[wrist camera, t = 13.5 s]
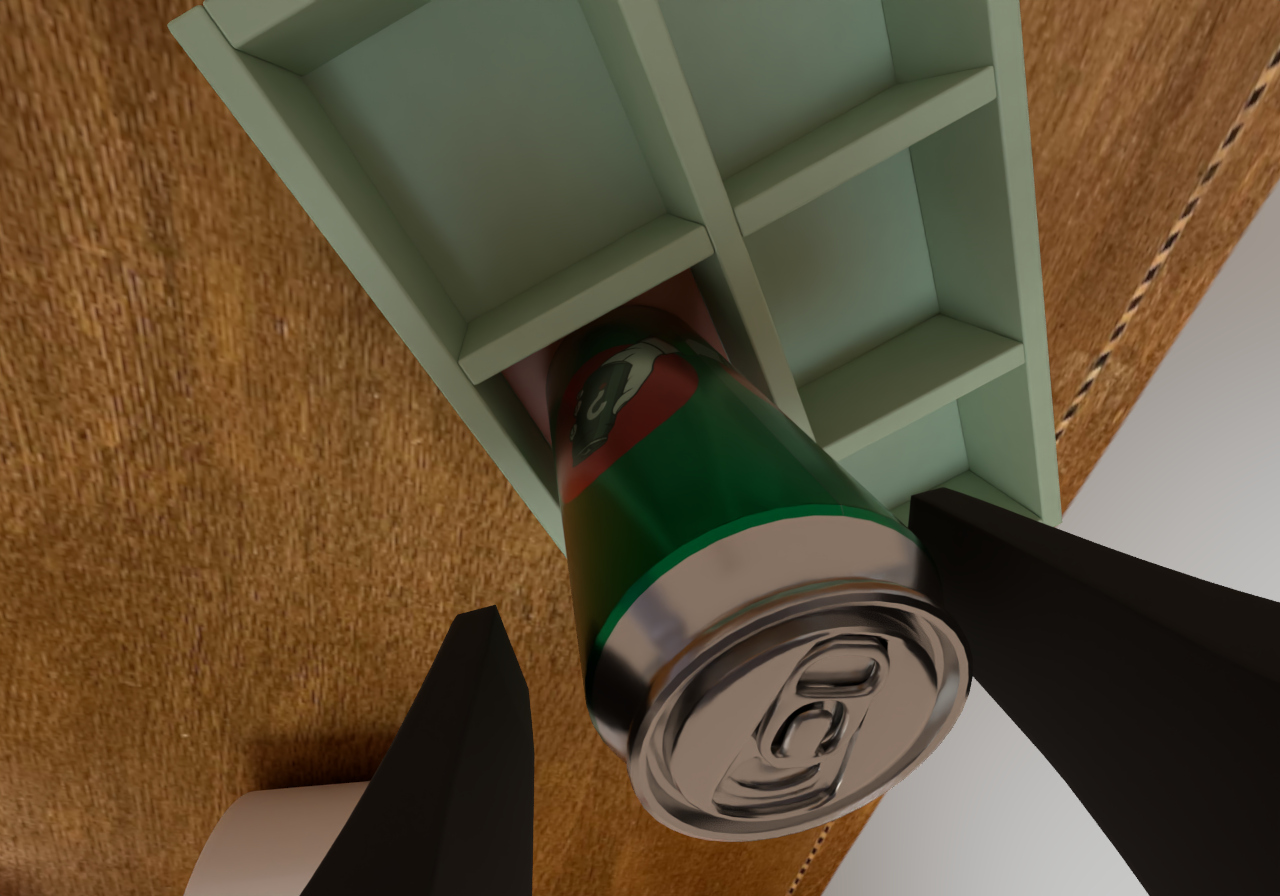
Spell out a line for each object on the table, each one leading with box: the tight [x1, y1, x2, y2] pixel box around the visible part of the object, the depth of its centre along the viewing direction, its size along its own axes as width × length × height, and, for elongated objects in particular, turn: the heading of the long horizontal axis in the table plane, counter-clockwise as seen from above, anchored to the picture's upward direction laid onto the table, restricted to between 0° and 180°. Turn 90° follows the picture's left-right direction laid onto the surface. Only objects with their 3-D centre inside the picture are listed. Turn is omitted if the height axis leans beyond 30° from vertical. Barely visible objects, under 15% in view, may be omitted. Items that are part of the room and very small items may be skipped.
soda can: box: [545, 305, 973, 842], centre depth 12 cm, size 5×5×12 cm
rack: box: [167, 0, 1062, 558], centre depth 16 cm, size 15×22×4 cm
